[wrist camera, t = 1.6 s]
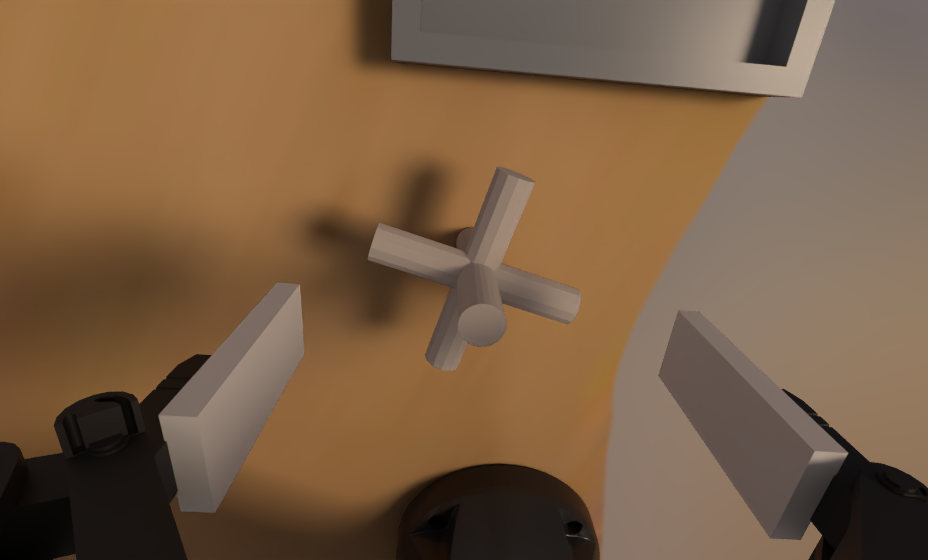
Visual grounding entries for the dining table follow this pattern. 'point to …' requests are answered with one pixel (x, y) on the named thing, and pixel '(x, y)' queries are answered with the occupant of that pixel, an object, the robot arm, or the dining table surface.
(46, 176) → the dining table surface
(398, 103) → the dining table surface
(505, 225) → the pipe connector
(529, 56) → the tray
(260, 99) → the dining table surface
